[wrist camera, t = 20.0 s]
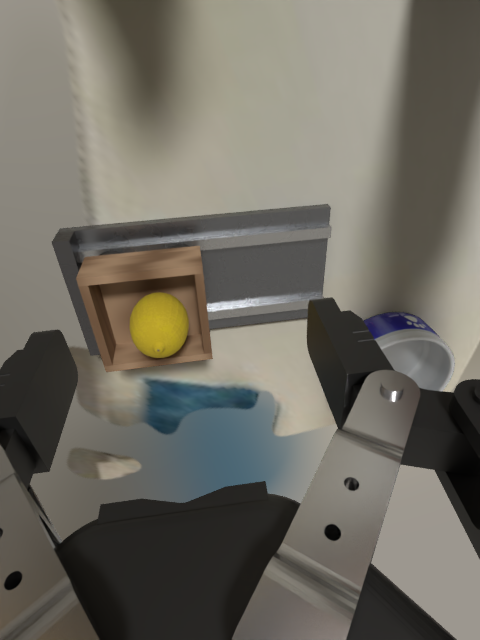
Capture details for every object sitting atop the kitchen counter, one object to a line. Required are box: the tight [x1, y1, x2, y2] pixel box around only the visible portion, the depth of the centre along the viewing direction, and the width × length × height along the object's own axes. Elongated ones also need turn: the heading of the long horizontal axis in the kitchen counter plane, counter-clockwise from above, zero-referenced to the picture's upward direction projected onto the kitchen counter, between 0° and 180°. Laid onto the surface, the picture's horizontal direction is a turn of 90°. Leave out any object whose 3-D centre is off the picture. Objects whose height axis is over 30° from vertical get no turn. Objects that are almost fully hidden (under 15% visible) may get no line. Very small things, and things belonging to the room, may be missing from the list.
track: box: [52, 204, 331, 355], centre depth 44 cm, size 28×14×3 cm, turn 93°
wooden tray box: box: [76, 244, 213, 372], centre depth 40 cm, size 11×11×6 cm
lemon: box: [129, 292, 189, 358], centre depth 37 cm, size 6×6×8 cm
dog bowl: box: [364, 312, 455, 391], centre depth 54 cm, size 15×15×6 cm
